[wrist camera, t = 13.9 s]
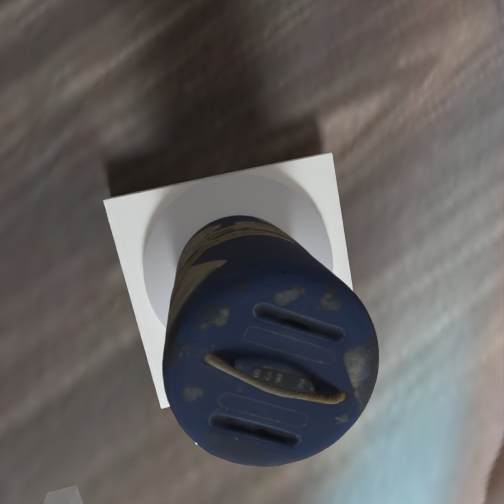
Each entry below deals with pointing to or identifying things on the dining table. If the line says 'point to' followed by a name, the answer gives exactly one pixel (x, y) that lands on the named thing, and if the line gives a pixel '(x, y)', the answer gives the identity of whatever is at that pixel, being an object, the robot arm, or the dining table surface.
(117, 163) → the dining table surface
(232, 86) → the dining table surface
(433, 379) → the dining table surface
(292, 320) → the canister
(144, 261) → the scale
